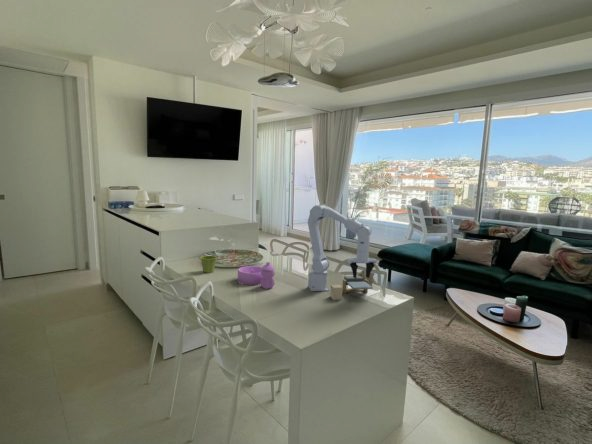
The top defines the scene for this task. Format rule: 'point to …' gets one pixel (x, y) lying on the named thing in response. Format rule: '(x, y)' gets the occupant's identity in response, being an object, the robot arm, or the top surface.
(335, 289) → the block
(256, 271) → the container set
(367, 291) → the frame
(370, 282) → the rock
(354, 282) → the trapdoor
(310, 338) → the top surface
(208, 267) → the plant pot
